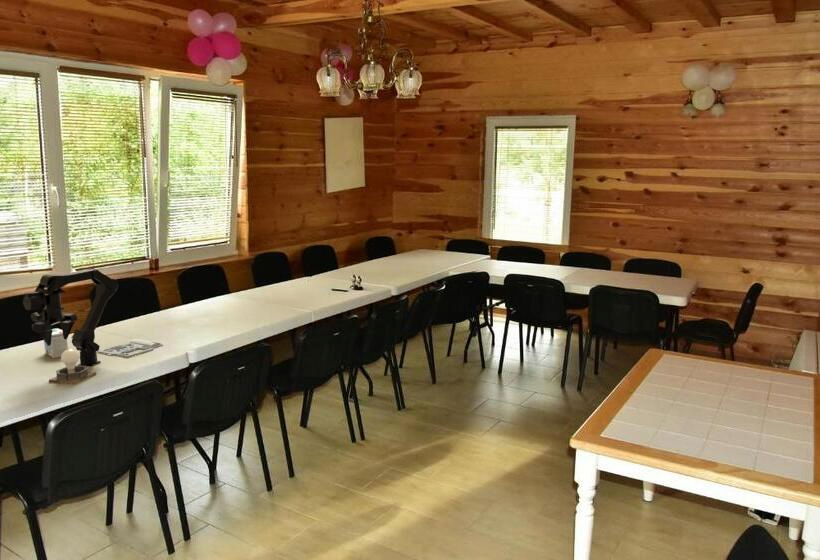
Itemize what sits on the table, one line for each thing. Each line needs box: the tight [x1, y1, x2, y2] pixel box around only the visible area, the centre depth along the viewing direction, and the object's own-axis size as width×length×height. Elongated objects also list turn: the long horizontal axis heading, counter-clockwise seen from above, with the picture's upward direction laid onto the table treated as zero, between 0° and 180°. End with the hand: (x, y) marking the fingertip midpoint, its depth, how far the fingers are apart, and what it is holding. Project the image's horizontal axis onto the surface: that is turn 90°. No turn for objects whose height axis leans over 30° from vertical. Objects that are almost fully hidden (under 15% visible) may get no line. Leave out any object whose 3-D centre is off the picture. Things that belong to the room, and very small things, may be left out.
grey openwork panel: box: [96, 338, 164, 359], centre depth 299 cm, size 23×3×20 cm
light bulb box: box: [43, 327, 69, 359], centre depth 292 cm, size 11×7×11 cm, turn 47°
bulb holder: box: [48, 364, 97, 385], centre depth 260 cm, size 12×12×4 cm
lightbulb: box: [60, 348, 80, 374], centre depth 259 cm, size 6×6×11 cm
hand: (57, 342), depth 264 cm, fingers open, 9 cm apart
